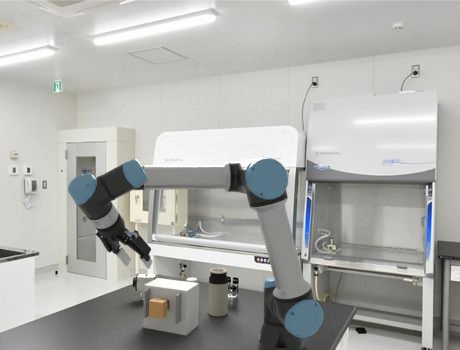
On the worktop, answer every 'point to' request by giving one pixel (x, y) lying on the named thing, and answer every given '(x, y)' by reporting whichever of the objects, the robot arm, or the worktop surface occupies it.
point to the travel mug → (218, 292)
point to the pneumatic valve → (143, 282)
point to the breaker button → (158, 308)
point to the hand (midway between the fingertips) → (139, 263)
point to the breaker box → (173, 305)
